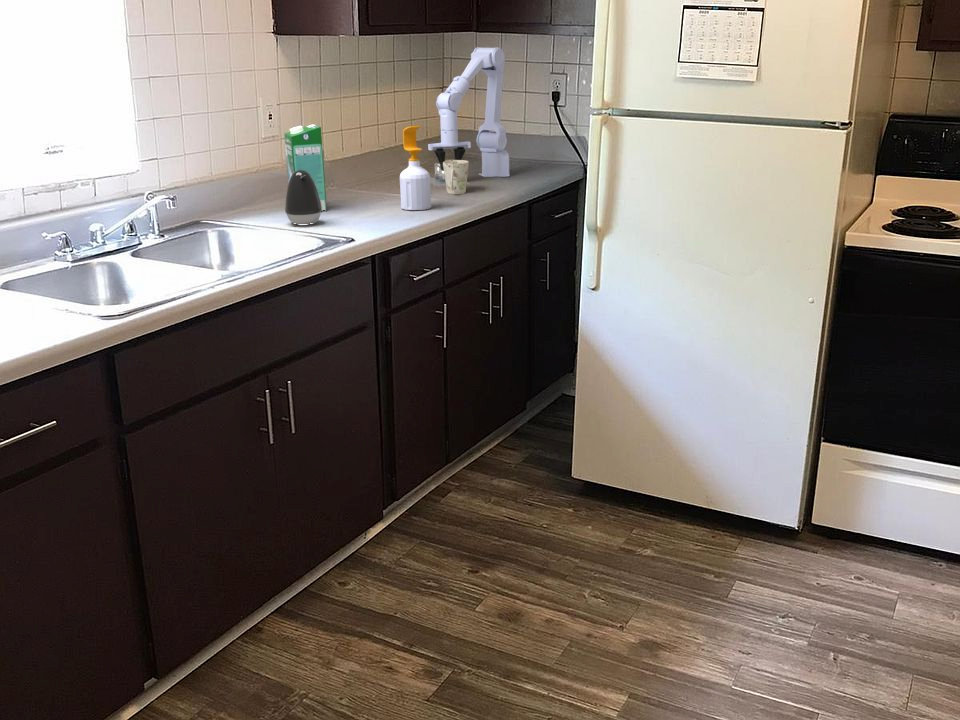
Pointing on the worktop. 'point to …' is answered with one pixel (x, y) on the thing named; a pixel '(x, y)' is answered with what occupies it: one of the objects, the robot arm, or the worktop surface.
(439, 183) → the slate board
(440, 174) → the tin middle
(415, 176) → the soap bottle
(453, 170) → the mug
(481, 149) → the robot arm
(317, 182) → the milk carton
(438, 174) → the tin left
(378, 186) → the worktop surface
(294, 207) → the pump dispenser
